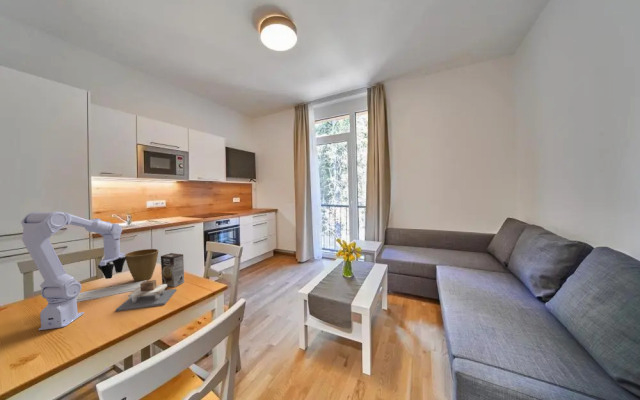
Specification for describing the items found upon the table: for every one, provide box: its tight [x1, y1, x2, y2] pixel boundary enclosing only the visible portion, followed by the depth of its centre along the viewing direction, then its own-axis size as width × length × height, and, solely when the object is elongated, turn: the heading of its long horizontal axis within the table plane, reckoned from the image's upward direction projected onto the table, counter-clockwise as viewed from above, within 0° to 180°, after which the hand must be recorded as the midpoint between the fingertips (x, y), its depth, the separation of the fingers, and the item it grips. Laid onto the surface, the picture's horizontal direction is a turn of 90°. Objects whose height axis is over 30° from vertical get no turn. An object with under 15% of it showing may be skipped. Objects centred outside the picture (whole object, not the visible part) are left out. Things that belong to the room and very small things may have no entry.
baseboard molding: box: [76, 280, 148, 303], centre depth 109 cm, size 31×3×12 cm
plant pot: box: [124, 248, 159, 282], centre depth 125 cm, size 15×15×16 cm
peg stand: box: [115, 288, 177, 312], centre depth 101 cm, size 14×18×4 cm
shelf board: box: [127, 279, 168, 299], centre depth 101 cm, size 12×8×5 cm, turn 105°
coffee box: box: [160, 252, 185, 288], centre depth 118 cm, size 9×6×16 cm
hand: (114, 275), depth 107 cm, fingers open, 7 cm apart
